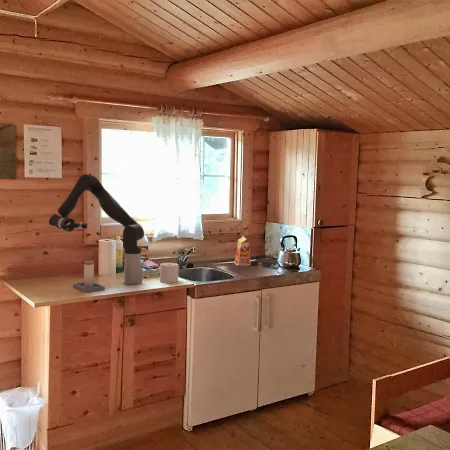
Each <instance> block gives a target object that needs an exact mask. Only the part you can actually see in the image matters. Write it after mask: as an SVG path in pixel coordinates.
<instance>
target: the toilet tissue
mask: <svg viewBox="0 0 450 450" xmlns="http://www.w3.org/2000/svg"><path fill="white" fill-rule="evenodd" d="M159 281H160V283H166V284H173V283H177V282H179V264H178V263H175V262H162V263H160V264H159Z"/></svg>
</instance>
